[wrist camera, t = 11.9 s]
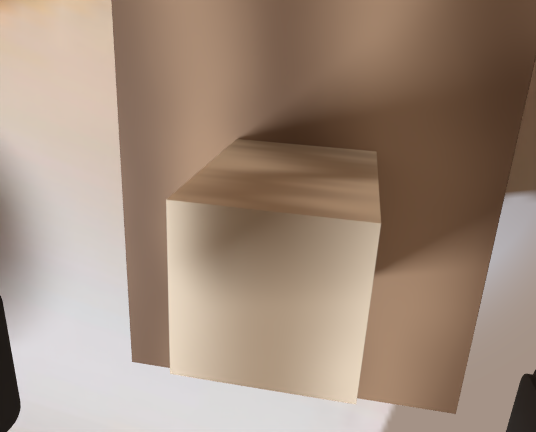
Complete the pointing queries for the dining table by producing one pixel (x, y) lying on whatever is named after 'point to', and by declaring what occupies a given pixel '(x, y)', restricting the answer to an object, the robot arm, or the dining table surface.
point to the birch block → (274, 268)
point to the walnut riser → (336, 136)
